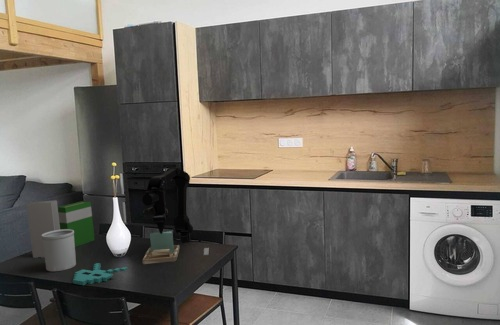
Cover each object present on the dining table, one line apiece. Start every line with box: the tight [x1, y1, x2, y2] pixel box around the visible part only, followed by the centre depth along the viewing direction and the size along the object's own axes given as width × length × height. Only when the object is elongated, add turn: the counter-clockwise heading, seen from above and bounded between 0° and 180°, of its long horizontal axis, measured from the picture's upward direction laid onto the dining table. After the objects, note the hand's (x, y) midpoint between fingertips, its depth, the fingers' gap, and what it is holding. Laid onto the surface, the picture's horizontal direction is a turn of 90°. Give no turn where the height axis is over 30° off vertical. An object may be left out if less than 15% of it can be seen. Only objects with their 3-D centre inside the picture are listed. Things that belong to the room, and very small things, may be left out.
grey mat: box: [202, 247, 210, 256], centre depth 218 cm, size 11×13×1 cm
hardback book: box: [57, 200, 96, 248], centre depth 251 cm, size 18×7×24 cm, turn 150°
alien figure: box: [72, 262, 129, 286], centre depth 194 cm, size 20×2×20 cm
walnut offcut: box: [148, 253, 170, 259], centre depth 208 cm, size 4×10×2 cm, turn 100°
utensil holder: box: [41, 229, 77, 272], centre depth 210 cm, size 15×15×18 cm
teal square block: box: [149, 230, 175, 253], centre depth 217 cm, size 3×11×11 cm, turn 95°
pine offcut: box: [152, 249, 170, 256], centre depth 208 cm, size 4×8×2 cm, turn 91°
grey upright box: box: [26, 200, 60, 259], centre depth 230 cm, size 14×6×30 cm, turn 84°
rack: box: [142, 244, 181, 265], centre depth 213 cm, size 20×16×3 cm
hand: (162, 231), depth 216 cm, fingers open, 9 cm apart
